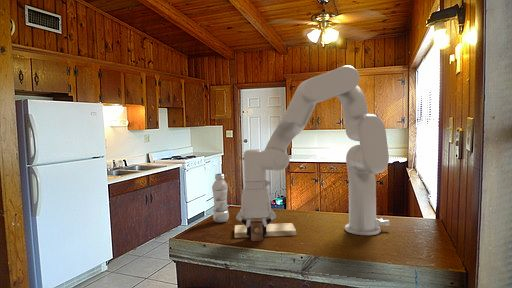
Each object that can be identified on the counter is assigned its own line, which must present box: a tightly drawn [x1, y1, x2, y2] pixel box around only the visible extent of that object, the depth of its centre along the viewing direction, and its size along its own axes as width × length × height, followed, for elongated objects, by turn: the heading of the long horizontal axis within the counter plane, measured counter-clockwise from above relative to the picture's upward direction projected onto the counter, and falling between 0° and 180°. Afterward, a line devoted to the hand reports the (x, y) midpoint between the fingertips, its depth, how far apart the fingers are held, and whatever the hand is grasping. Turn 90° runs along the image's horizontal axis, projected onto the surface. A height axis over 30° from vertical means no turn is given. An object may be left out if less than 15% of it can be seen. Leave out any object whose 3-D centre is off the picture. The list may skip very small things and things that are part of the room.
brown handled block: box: [250, 219, 264, 242], centre depth 118 cm, size 4×13×6 cm, turn 3°
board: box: [234, 222, 297, 239], centre depth 121 cm, size 22×9×2 cm, turn 93°
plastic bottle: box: [211, 173, 230, 223], centre depth 136 cm, size 6×7×20 cm
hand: (256, 236), depth 114 cm, fingers closed on brown handled block, 4 cm apart
